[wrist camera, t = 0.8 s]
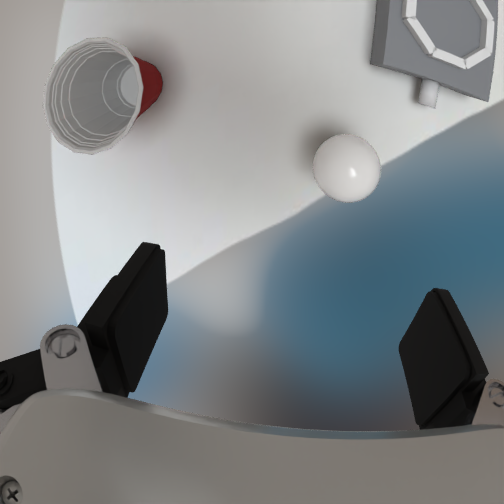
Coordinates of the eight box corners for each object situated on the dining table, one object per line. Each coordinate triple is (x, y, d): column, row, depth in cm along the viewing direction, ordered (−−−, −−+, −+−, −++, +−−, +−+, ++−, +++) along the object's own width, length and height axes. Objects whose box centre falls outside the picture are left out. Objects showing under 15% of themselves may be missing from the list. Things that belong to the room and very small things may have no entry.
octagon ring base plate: (379, -47, 19) (395, -64, 14) (476, -8, 19) (503, -14, 14) (366, 88, 29) (382, 94, 24) (462, 117, 29) (488, 129, 24)
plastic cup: (198, 53, 29) (158, 50, 19) (167, 137, 35) (121, 170, 25) (118, 32, 27) (55, 30, 17) (94, 112, 33) (34, 137, 23)
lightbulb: (308, 173, 36) (316, 215, 27) (305, 120, 32) (314, 143, 23) (361, 172, 35) (386, 213, 26) (361, 120, 31) (391, 144, 22)
